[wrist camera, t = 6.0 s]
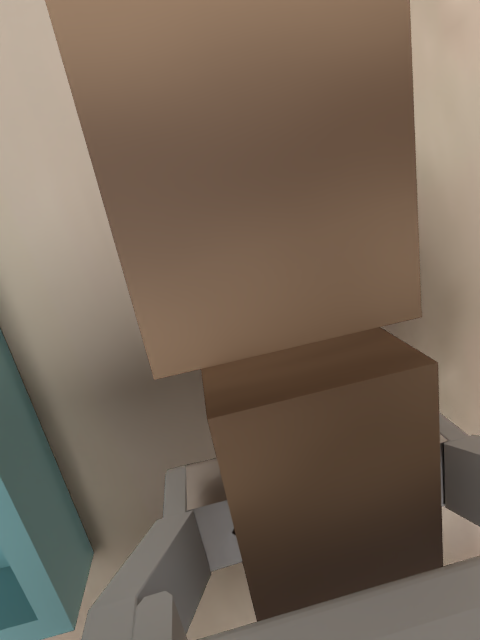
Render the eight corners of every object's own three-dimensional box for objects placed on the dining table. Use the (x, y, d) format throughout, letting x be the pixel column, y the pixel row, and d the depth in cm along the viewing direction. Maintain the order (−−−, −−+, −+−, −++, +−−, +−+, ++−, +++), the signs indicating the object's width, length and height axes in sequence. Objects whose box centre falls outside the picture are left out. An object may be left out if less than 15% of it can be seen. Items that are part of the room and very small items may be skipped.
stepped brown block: (383, 541, 14) (483, 707, 10) (229, 585, 14) (254, 784, 9) (336, 10, 9) (504, -205, 4) (85, 50, 9) (-36, -145, 4)
